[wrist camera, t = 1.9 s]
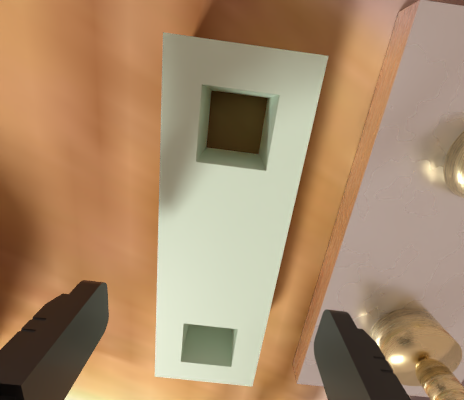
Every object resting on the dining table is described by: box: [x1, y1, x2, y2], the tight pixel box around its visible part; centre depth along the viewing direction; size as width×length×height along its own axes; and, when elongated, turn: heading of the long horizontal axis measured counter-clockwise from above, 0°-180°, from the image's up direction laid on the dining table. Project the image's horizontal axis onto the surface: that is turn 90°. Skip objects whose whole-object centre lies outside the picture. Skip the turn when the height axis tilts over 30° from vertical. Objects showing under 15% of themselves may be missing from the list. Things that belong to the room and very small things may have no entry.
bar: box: [155, 32, 328, 386], centre depth 14 cm, size 18×6×4 cm, turn 173°
